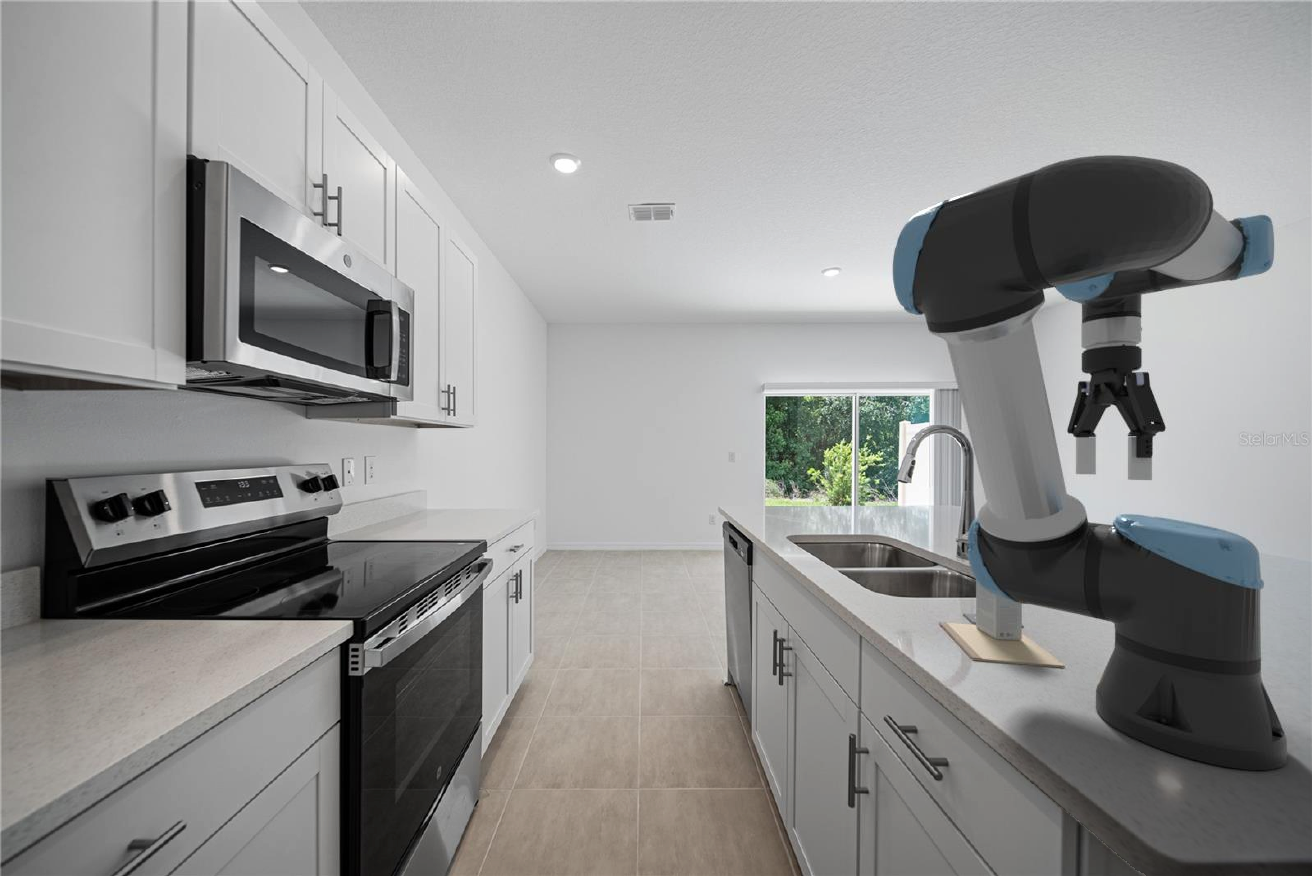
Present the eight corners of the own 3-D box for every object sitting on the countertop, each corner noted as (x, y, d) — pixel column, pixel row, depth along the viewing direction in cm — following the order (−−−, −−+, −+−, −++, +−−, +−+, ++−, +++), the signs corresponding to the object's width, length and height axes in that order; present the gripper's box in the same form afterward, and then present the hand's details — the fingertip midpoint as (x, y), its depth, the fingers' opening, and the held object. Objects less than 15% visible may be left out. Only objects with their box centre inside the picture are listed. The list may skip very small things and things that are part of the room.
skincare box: (1023, 640, 86) (1023, 566, 86) (996, 640, 86) (996, 566, 86) (999, 627, 92) (999, 558, 92) (974, 627, 92) (974, 557, 92)
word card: (1023, 627, 93) (1023, 625, 93) (973, 623, 95) (973, 621, 95) (1010, 618, 98) (1010, 616, 98) (963, 614, 100) (962, 612, 100)
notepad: (1064, 667, 76) (1064, 665, 76) (972, 660, 79) (972, 657, 79) (1014, 629, 92) (1014, 627, 92) (938, 624, 94) (938, 621, 94)
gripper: (1199, 331, 75) (1199, 483, 75) (1090, 358, 99) (1090, 472, 99) (1137, 333, 76) (1137, 482, 76) (1045, 359, 101) (1045, 472, 100)
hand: (1110, 477), depth 87 cm, fingers open, 13 cm apart
